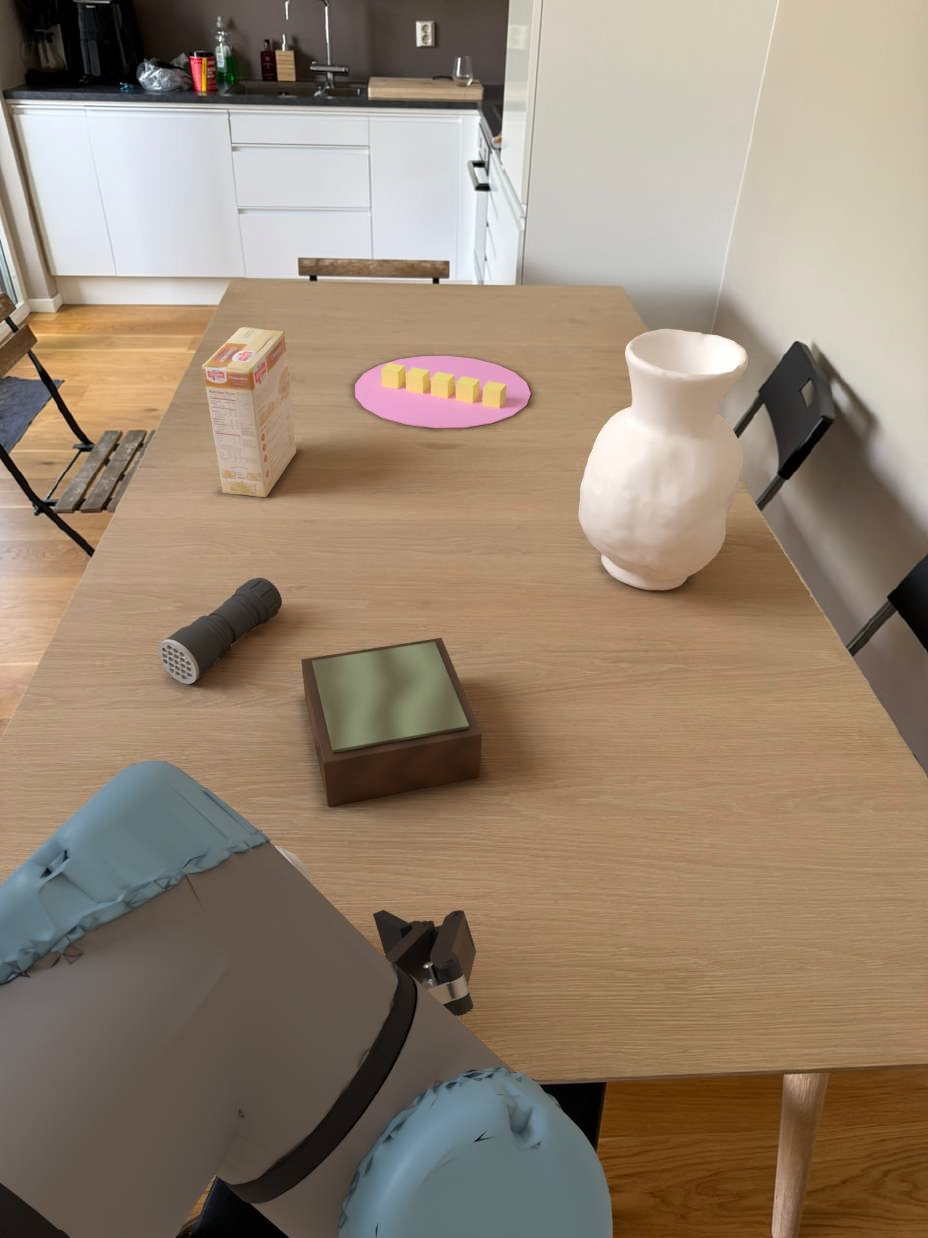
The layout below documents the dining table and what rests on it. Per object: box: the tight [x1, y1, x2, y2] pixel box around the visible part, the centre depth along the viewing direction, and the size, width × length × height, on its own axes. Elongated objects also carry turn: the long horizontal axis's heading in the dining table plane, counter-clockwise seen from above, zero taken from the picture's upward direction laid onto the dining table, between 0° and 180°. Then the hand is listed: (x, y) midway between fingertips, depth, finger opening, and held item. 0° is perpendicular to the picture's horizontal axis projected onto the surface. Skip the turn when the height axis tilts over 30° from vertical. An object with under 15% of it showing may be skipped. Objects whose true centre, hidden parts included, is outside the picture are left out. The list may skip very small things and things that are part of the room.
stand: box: [301, 637, 483, 807], centre depth 89 cm, size 15×15×6 cm
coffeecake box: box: [201, 326, 297, 498], centre depth 129 cm, size 15×7×20 cm, turn 171°
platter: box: [354, 355, 532, 429], centre depth 161 cm, size 32×32×3 cm
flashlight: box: [157, 577, 283, 685], centre depth 101 cm, size 15×5×5 cm, turn 151°
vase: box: [577, 328, 749, 591], centre depth 108 cm, size 19×21×30 cm
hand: (284, 973), depth 56 cm, fingers open, 13 cm apart
